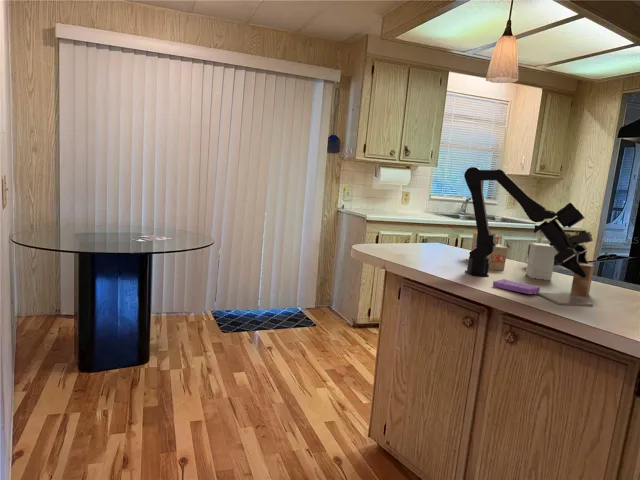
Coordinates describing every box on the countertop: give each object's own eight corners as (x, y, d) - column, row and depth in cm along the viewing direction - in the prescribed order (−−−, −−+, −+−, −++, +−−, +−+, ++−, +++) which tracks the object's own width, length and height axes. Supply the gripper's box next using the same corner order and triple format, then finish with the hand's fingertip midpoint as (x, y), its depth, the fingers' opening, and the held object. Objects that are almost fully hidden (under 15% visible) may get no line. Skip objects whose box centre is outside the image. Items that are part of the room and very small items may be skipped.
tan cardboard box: (504, 270, 175) (509, 240, 173) (489, 269, 175) (493, 238, 173) (483, 259, 197) (487, 232, 195) (469, 258, 196) (473, 231, 194)
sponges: (503, 284, 151) (503, 278, 151) (540, 292, 141) (540, 286, 141) (492, 286, 146) (492, 280, 146) (529, 294, 137) (530, 288, 136)
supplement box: (551, 280, 163) (557, 247, 161) (530, 278, 164) (535, 244, 162) (545, 276, 170) (551, 244, 168) (525, 273, 172) (530, 241, 170)
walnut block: (570, 293, 146) (575, 263, 144) (573, 291, 149) (578, 262, 147) (586, 296, 143) (591, 266, 141) (588, 294, 146) (594, 265, 145)
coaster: (559, 304, 130) (559, 303, 130) (536, 294, 141) (536, 292, 141) (592, 306, 132) (593, 304, 132) (567, 295, 142) (567, 293, 142)
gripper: (571, 222, 138) (606, 264, 132) (584, 220, 152) (616, 258, 146) (540, 243, 144) (572, 284, 139) (555, 239, 158) (585, 276, 153)
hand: (588, 275), depth 144 cm, fingers open, 9 cm apart
